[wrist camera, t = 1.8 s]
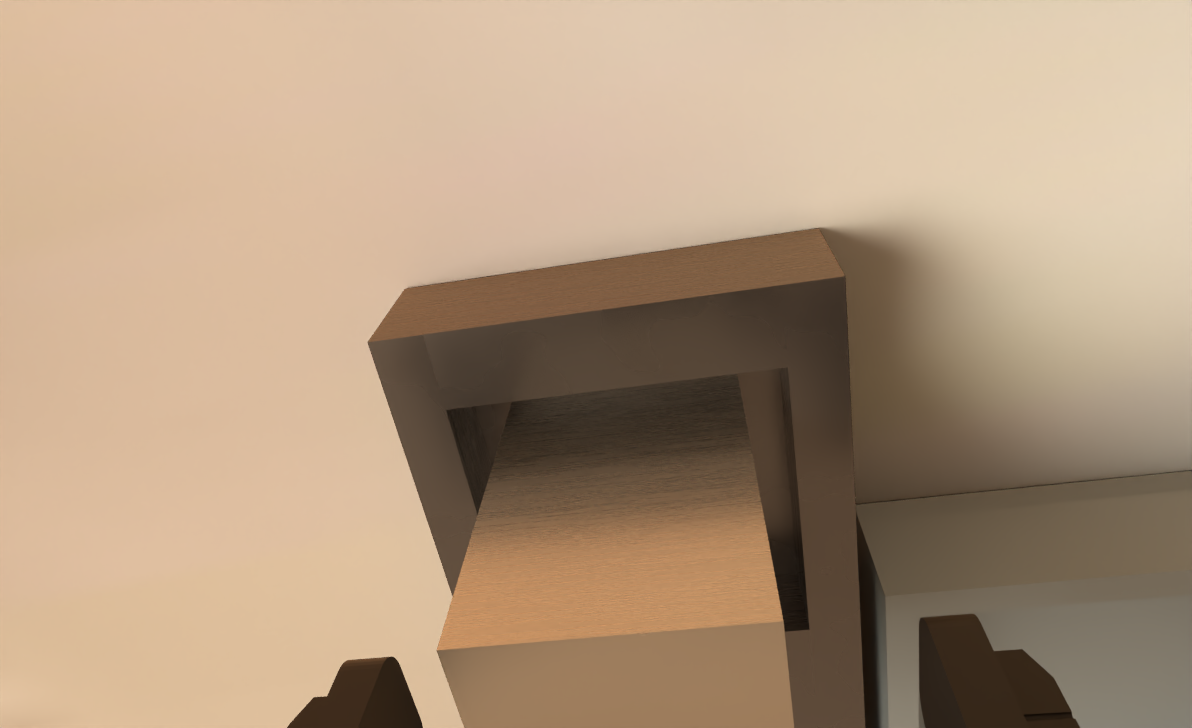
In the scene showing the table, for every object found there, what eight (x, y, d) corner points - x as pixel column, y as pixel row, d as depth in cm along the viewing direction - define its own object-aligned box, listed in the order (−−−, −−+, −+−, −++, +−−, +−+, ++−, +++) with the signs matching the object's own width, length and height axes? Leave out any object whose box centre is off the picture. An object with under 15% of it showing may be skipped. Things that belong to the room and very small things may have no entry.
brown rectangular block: (513, 398, 16) (436, 650, 11) (736, 370, 16) (784, 621, 10) (556, 568, 18) (511, 859, 13) (756, 549, 18) (805, 845, 12)
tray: (854, 505, 18) (885, 596, 16) (1373, 452, 17) (1499, 542, 14) (867, 805, 23) (893, 912, 20) (1276, 783, 21) (1358, 895, 19)
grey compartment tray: (405, 288, 16) (367, 342, 14) (818, 228, 15) (845, 276, 13) (574, 851, 24) (567, 939, 22) (854, 837, 23) (874, 928, 21)
